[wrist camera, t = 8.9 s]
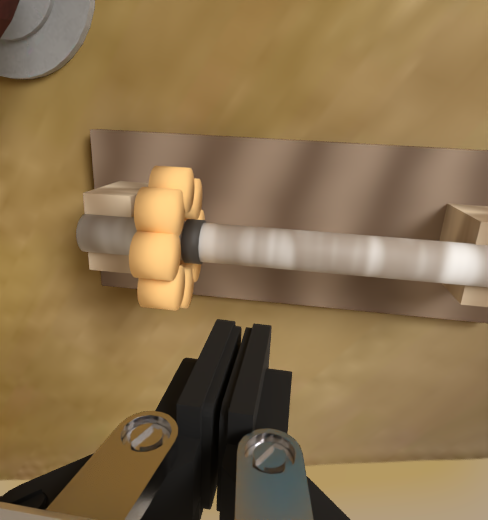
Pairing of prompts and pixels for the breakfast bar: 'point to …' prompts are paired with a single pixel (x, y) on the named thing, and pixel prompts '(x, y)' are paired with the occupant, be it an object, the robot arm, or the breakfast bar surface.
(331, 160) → the pipe stand
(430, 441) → the breakfast bar surface
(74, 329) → the breakfast bar surface
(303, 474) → the robot arm
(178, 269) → the tan lobed rosette
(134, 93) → the breakfast bar surface
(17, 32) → the mate gourd
